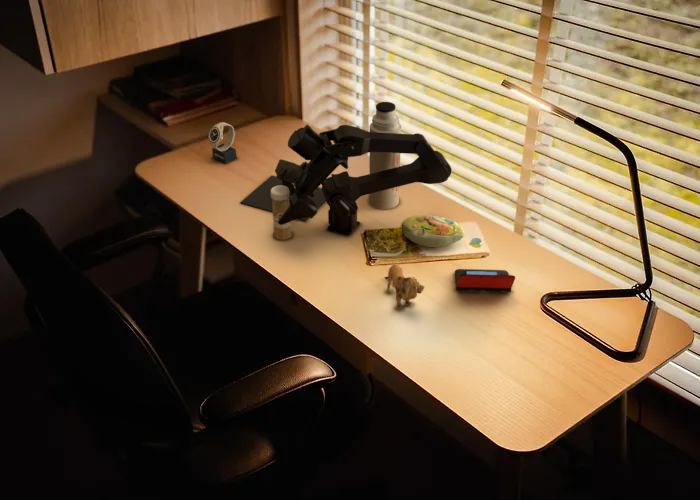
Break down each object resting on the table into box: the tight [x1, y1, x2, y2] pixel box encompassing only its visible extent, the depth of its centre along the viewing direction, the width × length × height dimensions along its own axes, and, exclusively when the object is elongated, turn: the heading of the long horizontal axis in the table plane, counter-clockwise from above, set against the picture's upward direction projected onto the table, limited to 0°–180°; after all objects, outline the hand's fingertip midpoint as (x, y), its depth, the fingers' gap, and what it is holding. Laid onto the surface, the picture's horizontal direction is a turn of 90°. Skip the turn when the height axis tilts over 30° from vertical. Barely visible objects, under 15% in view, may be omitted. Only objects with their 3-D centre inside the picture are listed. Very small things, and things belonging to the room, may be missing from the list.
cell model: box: [400, 214, 465, 248], centre depth 195 cm, size 11×8×15 cm
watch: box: [207, 121, 238, 165], centre depth 229 cm, size 6×8×11 cm
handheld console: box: [454, 268, 516, 293], centre depth 179 cm, size 12×11×7 cm
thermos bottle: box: [368, 101, 402, 210], centre depth 204 cm, size 8×8×28 cm
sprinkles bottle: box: [271, 185, 293, 241], centre depth 195 cm, size 5×5×13 cm
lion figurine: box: [384, 263, 425, 311], centre depth 176 cm, size 15×5×9 cm, turn 25°
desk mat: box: [240, 175, 327, 222], centre depth 214 cm, size 20×16×1 cm
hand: (276, 213), depth 195 cm, fingers open, 9 cm apart
